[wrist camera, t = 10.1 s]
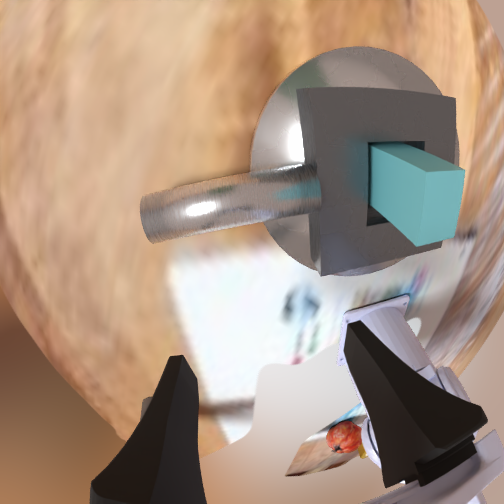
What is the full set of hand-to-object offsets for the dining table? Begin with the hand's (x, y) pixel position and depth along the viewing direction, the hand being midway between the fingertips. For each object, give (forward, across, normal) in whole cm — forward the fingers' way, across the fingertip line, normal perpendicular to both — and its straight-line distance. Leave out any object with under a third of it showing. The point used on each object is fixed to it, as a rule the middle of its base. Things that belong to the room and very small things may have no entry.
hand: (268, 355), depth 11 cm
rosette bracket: (+10, -7, -4) cm, 13 cm away
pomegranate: (+11, -12, +46) cm, 49 cm away
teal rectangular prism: (+9, -10, -4) cm, 14 cm away
